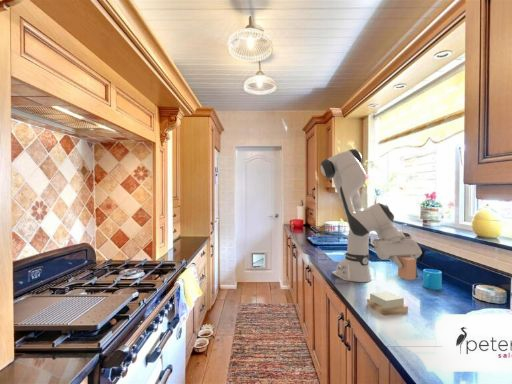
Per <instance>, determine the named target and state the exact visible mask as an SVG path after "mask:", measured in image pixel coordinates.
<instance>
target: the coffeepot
mask: <svg viewBox="0 0 512 384" xmlns="http://www.w3.org/2000/svg"><path fill="white" fill-rule="evenodd" d="M420 249H421V251H422V254H421V255H420V256H419V260H418V258H414V259H416V262H418V263H421V262H423V259H424V256H425V252H426V250H425V249H424V248H422V247H420ZM417 266H418V265H416V277H418V276H419V271H418V267H417Z"/></svg>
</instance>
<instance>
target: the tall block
mask: <svg viewBox="0 0 512 384" xmlns="http://www.w3.org/2000/svg"><path fill="white" fill-rule="evenodd" d="M398 260H399V261H400V262H403V264H404V267H403V268H399V267H398V266H397V267H398V268H397V277H398V278H401V279H403V280H416V277H417V276H416V266H417V261H416V259H414V258H410V257H399V259H398Z"/></svg>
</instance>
